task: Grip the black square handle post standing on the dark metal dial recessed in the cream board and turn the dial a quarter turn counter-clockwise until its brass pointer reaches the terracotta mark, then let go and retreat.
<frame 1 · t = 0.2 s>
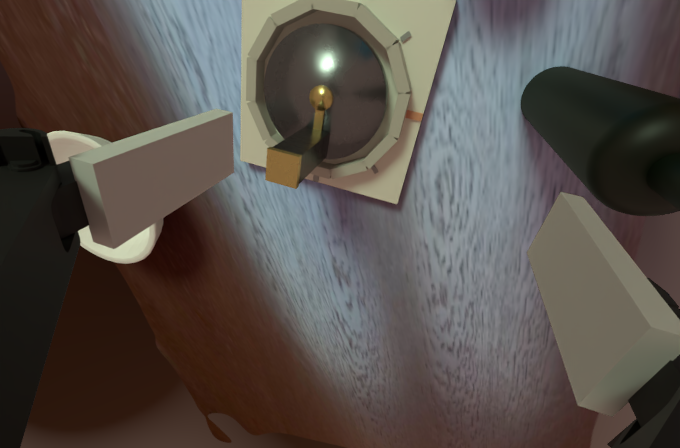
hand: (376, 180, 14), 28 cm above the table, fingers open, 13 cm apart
dial: (309, 104, 34), point 7 cm above the table, hinge at 0.0°
wine bottle: (552, 97, 34), on the table
bowl: (137, 182, 56), on the table
dial board: (331, 93, 40), on the table
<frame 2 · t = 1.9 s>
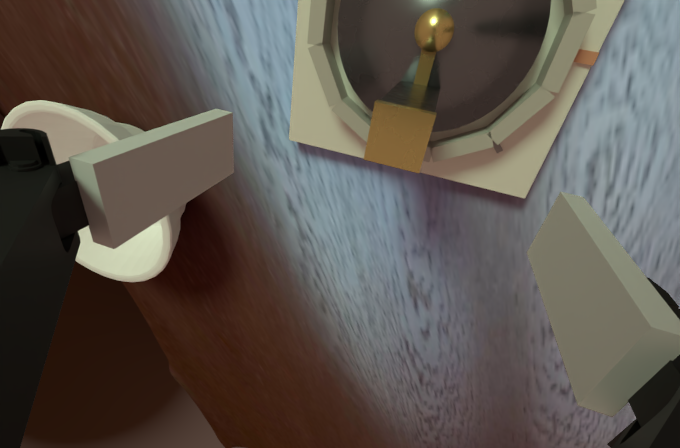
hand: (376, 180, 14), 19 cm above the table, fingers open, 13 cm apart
dial: (430, 31, 20), point 8 cm above the table, hinge at 0.0°
bowl: (144, 175, 43), on the table
dial board: (436, 30, 26), on the table
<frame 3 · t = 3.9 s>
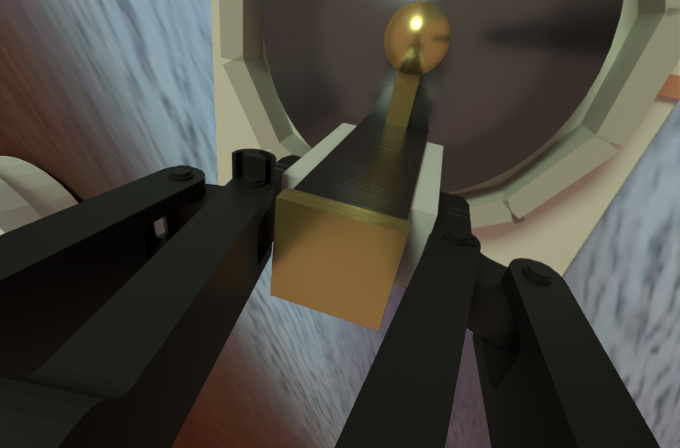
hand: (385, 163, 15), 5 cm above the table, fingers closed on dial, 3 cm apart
dial: (406, 42, 11), point 7 cm above the table, hinge at 0.1°, touching gripper
bowl: (52, 220, 33), on the table
dial board: (423, 38, 17), on the table
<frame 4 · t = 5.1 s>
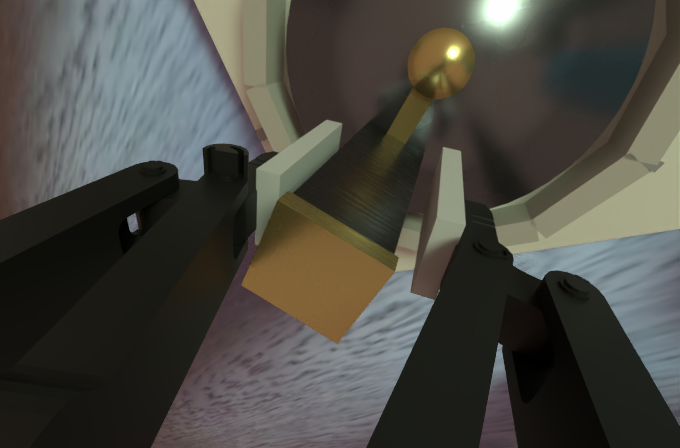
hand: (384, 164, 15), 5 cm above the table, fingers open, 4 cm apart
dial: (434, 73, 11), point 7 cm above the table, hinge at 41.1°, touching gripper
dial board: (443, 59, 17), on the table
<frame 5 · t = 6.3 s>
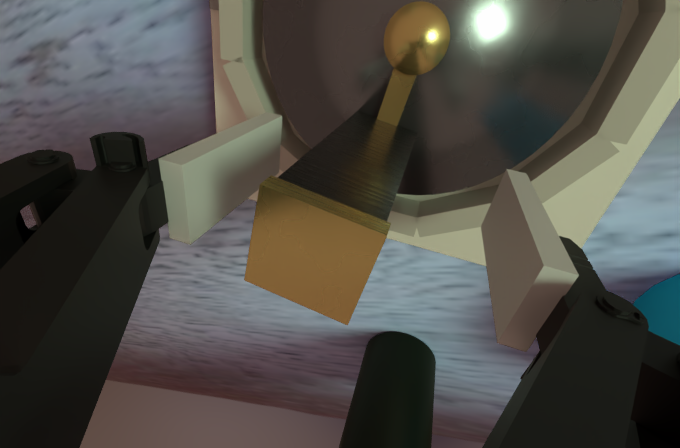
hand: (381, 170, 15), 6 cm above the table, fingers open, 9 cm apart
dial: (405, 42, 11), point 7 cm above the table, hinge at 82.6°
wine bottle: (400, 354, 28), on the table
dial board: (423, 38, 17), on the table
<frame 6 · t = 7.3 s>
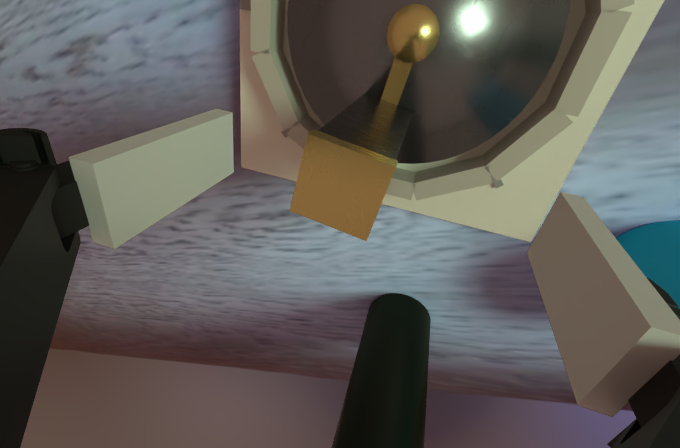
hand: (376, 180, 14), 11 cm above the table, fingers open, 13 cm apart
dial: (405, 35, 14), point 7 cm above the table, hinge at 82.6°
wine bottle: (399, 315, 32), on the table
dial board: (417, 33, 20), on the table
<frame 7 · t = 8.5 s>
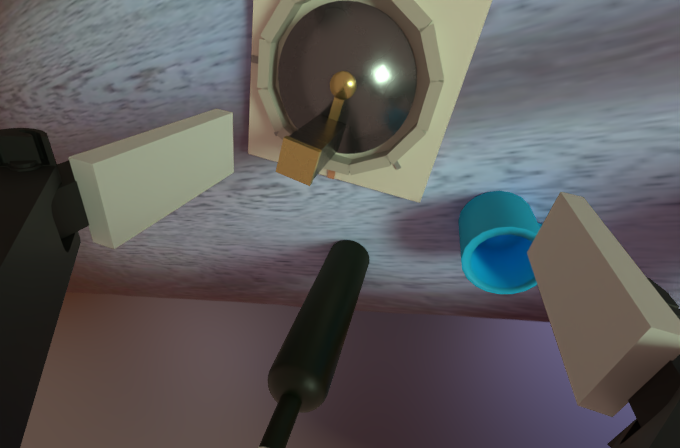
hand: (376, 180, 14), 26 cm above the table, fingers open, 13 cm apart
mug: (512, 222, 40), on the table
dial: (332, 91, 30), point 7 cm above the table, hinge at 82.6°
wine bottle: (349, 256, 48), on the table
dial board: (351, 80, 36), on the table
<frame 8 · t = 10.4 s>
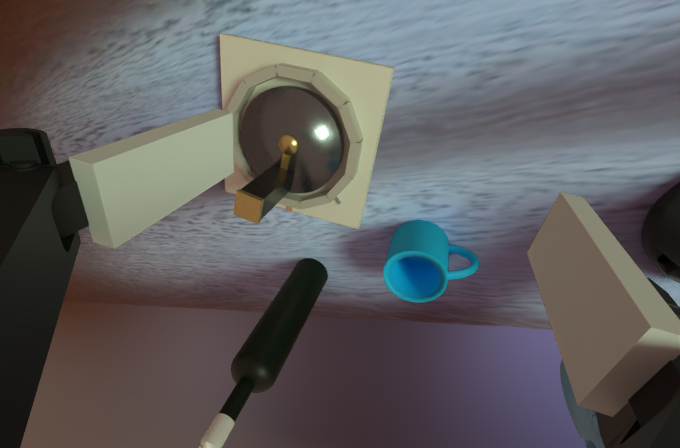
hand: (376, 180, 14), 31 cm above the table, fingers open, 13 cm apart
mug: (433, 244, 49), on the table
dial: (275, 153, 41), point 7 cm above the table, hinge at 82.6°
wine bottle: (312, 271, 59), on the table
dial board: (299, 137, 47), on the table
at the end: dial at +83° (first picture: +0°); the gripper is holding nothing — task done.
